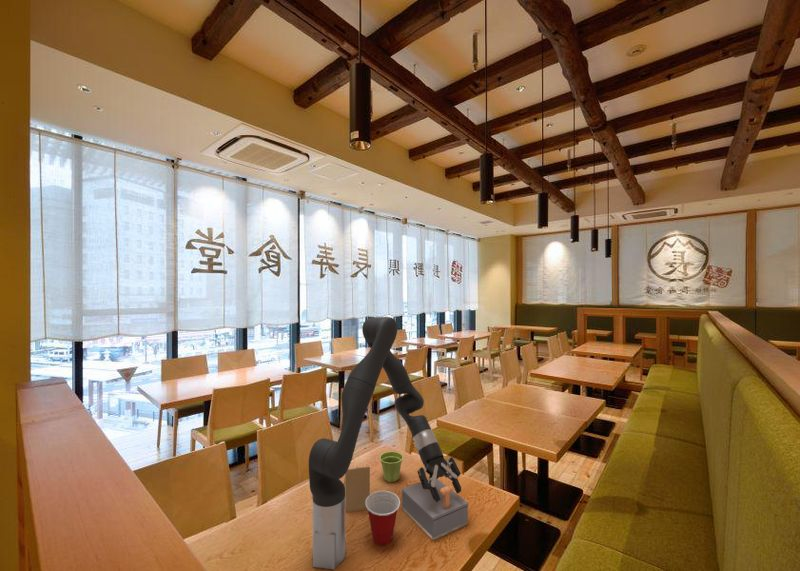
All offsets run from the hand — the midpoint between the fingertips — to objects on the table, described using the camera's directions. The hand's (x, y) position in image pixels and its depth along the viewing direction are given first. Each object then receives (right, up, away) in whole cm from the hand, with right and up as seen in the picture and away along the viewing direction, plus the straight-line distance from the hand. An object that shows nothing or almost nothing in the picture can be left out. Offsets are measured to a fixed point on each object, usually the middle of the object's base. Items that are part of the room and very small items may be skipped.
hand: (449, 496), depth 115 cm
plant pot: (-19, -11, +30) cm, 37 cm away
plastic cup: (-21, -11, -4) cm, 24 cm away
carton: (-4, -11, +7) cm, 14 cm away
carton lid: (-4, -4, +7) cm, 9 cm away
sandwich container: (-32, -11, +18) cm, 38 cm away
